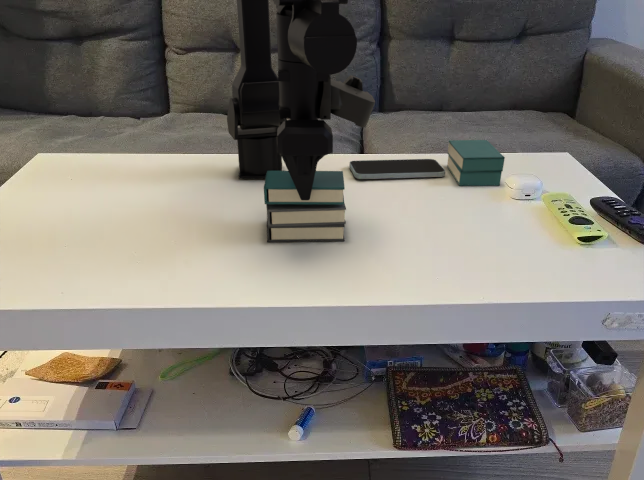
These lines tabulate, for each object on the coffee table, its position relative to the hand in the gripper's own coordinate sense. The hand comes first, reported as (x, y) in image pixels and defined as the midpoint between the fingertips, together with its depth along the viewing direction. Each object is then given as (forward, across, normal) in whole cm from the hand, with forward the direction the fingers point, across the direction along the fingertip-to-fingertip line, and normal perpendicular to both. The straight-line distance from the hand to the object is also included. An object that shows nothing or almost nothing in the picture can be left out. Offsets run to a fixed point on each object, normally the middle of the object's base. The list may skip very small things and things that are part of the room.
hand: (304, 190), depth 86 cm
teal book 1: (+1, 0, 0) cm, 1 cm away
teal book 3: (+6, +23, -28) cm, 37 cm away
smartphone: (+6, +25, -16) cm, 30 cm away
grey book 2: (+6, 0, 0) cm, 6 cm away
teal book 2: (+4, +23, -28) cm, 36 cm away
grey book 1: (+3, 0, 0) cm, 3 cm away
